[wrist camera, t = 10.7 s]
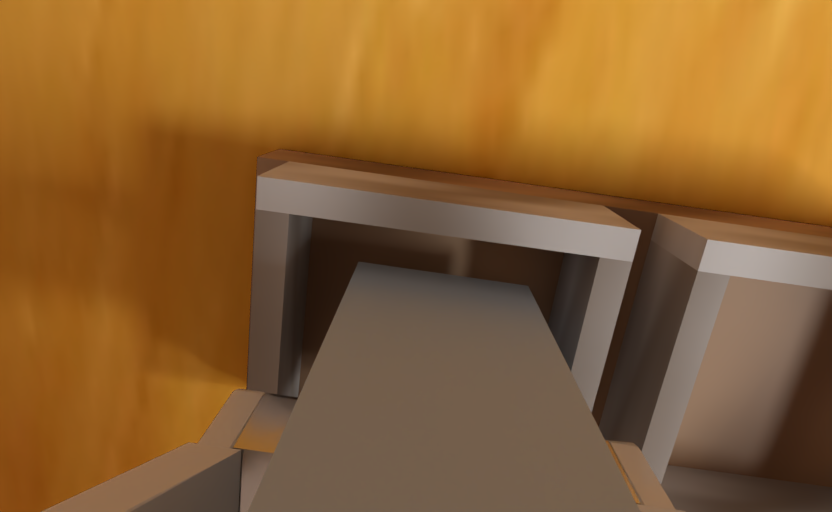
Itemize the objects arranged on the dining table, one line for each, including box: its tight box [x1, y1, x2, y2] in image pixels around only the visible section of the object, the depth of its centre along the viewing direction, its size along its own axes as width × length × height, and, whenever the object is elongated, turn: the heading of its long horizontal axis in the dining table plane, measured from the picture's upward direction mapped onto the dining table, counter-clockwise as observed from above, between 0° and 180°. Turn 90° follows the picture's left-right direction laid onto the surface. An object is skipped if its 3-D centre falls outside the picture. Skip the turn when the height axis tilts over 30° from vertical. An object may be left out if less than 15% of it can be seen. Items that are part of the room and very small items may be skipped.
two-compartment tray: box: [246, 149, 832, 512], centre depth 14 cm, size 19×8×4 cm, turn 82°
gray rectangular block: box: [248, 262, 640, 512], centre depth 9 cm, size 4×4×9 cm
